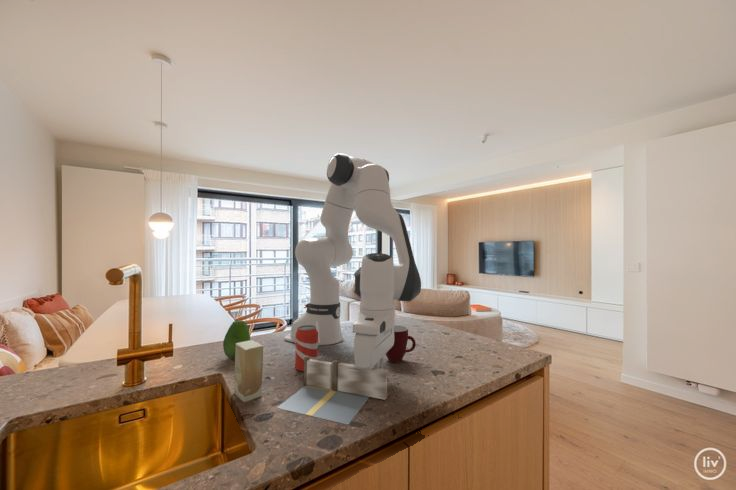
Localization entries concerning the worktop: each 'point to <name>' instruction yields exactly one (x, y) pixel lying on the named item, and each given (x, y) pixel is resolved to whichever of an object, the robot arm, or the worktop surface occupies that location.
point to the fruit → (235, 337)
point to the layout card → (325, 404)
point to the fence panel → (362, 381)
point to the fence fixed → (321, 373)
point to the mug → (400, 344)
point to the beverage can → (306, 345)
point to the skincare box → (248, 370)
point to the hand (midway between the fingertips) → (376, 374)
